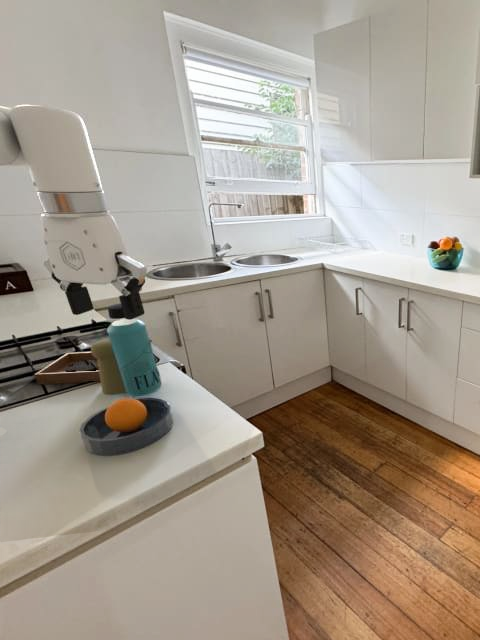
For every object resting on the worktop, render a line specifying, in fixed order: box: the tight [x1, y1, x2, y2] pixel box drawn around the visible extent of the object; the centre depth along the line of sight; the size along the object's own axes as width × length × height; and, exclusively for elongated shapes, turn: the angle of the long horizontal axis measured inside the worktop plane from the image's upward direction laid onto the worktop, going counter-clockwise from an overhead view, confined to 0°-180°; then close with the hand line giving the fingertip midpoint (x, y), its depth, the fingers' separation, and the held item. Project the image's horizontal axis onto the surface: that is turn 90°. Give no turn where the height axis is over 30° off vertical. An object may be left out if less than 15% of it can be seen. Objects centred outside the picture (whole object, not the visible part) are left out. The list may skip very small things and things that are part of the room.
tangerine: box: [105, 397, 147, 432], centre depth 68 cm, size 6×6×6 cm
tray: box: [33, 351, 101, 385], centre depth 89 cm, size 13×11×2 cm
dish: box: [78, 397, 175, 457], centre depth 69 cm, size 13×13×3 cm
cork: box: [90, 338, 127, 396], centre depth 81 cm, size 6×6×11 cm
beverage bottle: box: [106, 302, 162, 397], centre depth 76 cm, size 6×7×20 cm
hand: (109, 314), depth 63 cm, fingers open, 9 cm apart
